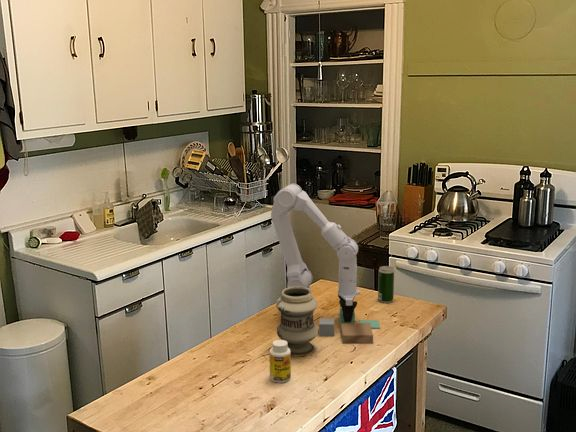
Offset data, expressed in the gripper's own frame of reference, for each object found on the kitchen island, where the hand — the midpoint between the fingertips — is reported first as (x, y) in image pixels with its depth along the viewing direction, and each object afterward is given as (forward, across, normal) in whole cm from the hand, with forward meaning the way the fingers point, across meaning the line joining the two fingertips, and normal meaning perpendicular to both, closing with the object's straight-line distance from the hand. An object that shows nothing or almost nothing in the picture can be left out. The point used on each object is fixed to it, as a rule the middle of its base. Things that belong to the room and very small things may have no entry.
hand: (347, 318), depth 199 cm
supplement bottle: (+2, -37, +20) cm, 42 cm away
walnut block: (+2, -11, -2) cm, 11 cm away
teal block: (+1, 0, 0) cm, 1 cm away
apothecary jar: (+2, -19, +16) cm, 25 cm away
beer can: (+2, +19, -15) cm, 24 cm away
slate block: (+2, -8, +7) cm, 11 cm away
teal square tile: (+1, -2, -7) cm, 7 cm away
